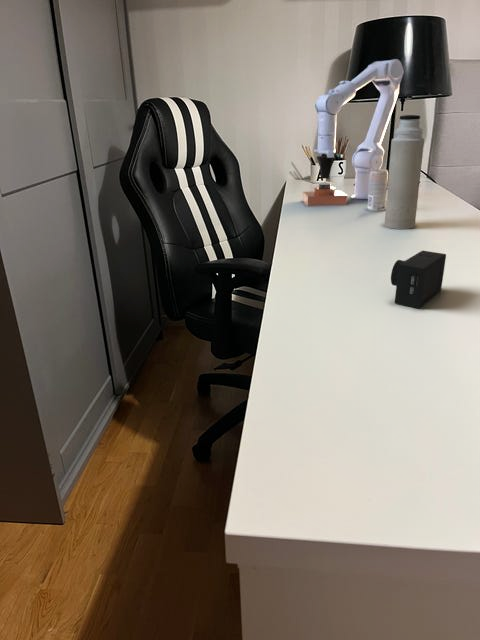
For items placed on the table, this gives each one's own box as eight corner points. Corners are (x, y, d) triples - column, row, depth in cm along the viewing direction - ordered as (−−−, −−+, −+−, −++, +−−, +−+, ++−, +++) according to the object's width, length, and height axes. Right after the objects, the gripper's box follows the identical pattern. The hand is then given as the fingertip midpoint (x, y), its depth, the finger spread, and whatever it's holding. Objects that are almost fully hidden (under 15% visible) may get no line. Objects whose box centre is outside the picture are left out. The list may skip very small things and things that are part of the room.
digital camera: (411, 285, 92) (415, 248, 90) (441, 291, 89) (446, 253, 86) (387, 302, 85) (391, 262, 82) (419, 309, 82) (424, 268, 79)
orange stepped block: (339, 199, 175) (340, 185, 173) (346, 204, 166) (347, 189, 164) (302, 201, 175) (303, 186, 173) (307, 206, 166) (308, 191, 164)
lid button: (329, 188, 171) (329, 182, 170) (331, 189, 167) (332, 184, 166) (317, 188, 170) (317, 183, 170) (320, 190, 167) (320, 184, 166)
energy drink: (383, 208, 160) (386, 169, 155) (386, 211, 155) (389, 171, 150) (366, 208, 160) (369, 169, 155) (368, 211, 155) (371, 171, 151)
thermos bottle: (413, 222, 139) (424, 114, 128) (416, 229, 132) (429, 115, 121) (383, 222, 141) (392, 115, 130) (385, 228, 134) (395, 115, 123)
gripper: (310, 134, 168) (309, 175, 174) (319, 136, 155) (317, 181, 160) (331, 133, 169) (329, 175, 174) (341, 135, 155) (339, 180, 161)
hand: (325, 178), depth 167 cm, fingers closed
